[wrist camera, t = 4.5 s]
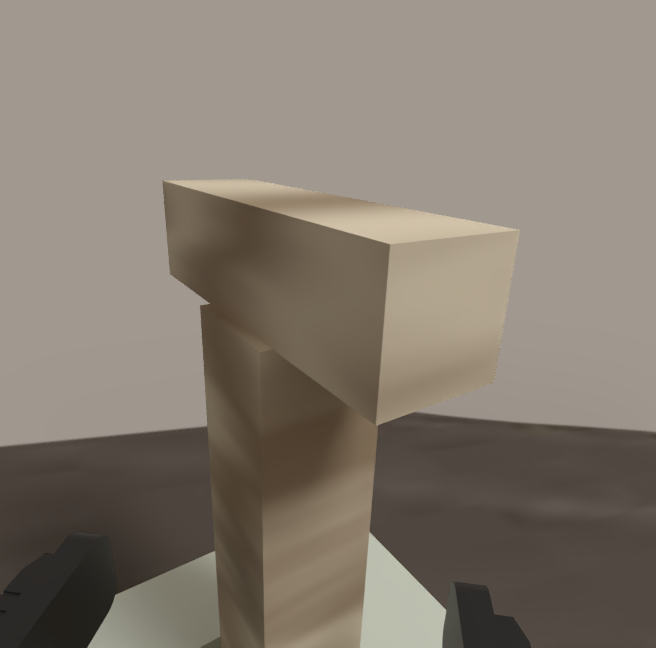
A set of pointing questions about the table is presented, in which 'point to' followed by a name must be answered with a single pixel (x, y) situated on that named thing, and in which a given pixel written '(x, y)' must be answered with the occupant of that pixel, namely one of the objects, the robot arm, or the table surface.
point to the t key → (320, 378)
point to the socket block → (203, 612)
